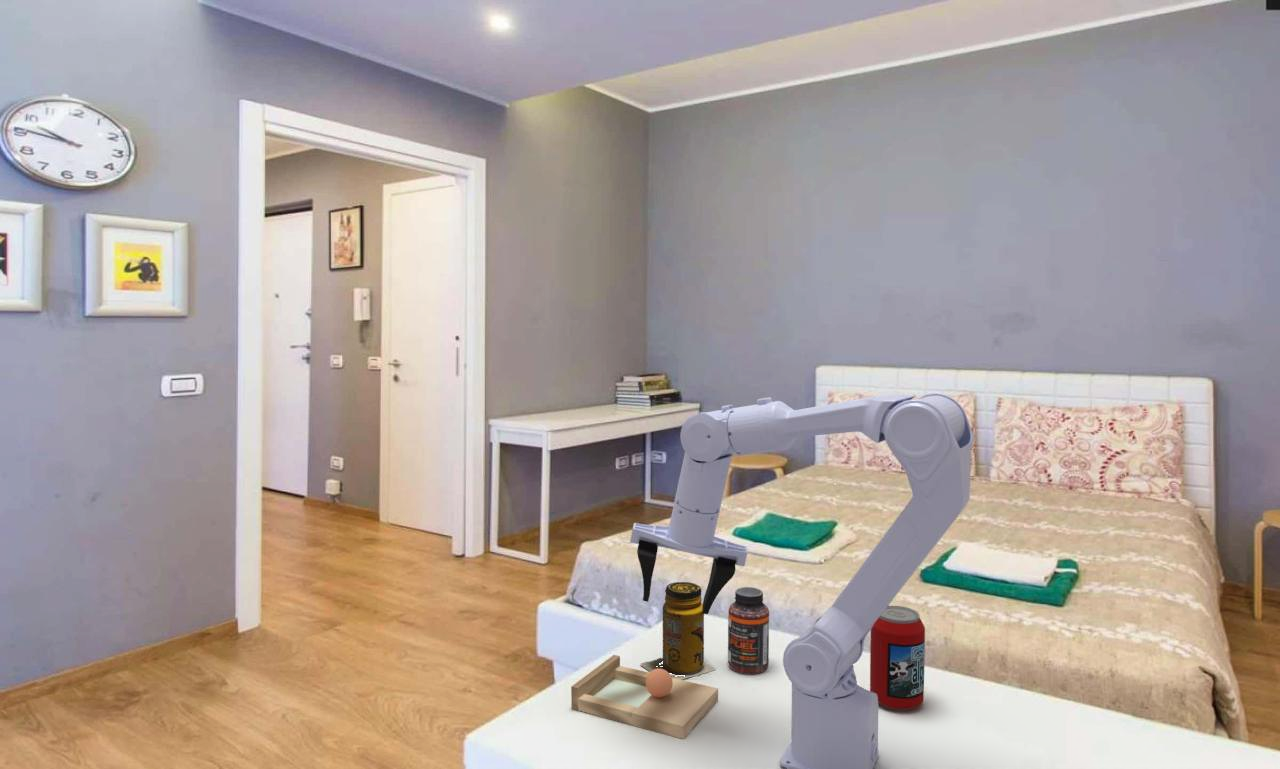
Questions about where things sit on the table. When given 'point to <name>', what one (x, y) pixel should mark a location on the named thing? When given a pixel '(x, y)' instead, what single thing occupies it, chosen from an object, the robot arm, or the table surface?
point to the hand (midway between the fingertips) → (675, 604)
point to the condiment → (682, 632)
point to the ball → (659, 683)
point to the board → (641, 699)
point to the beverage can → (898, 658)
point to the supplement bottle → (748, 632)
